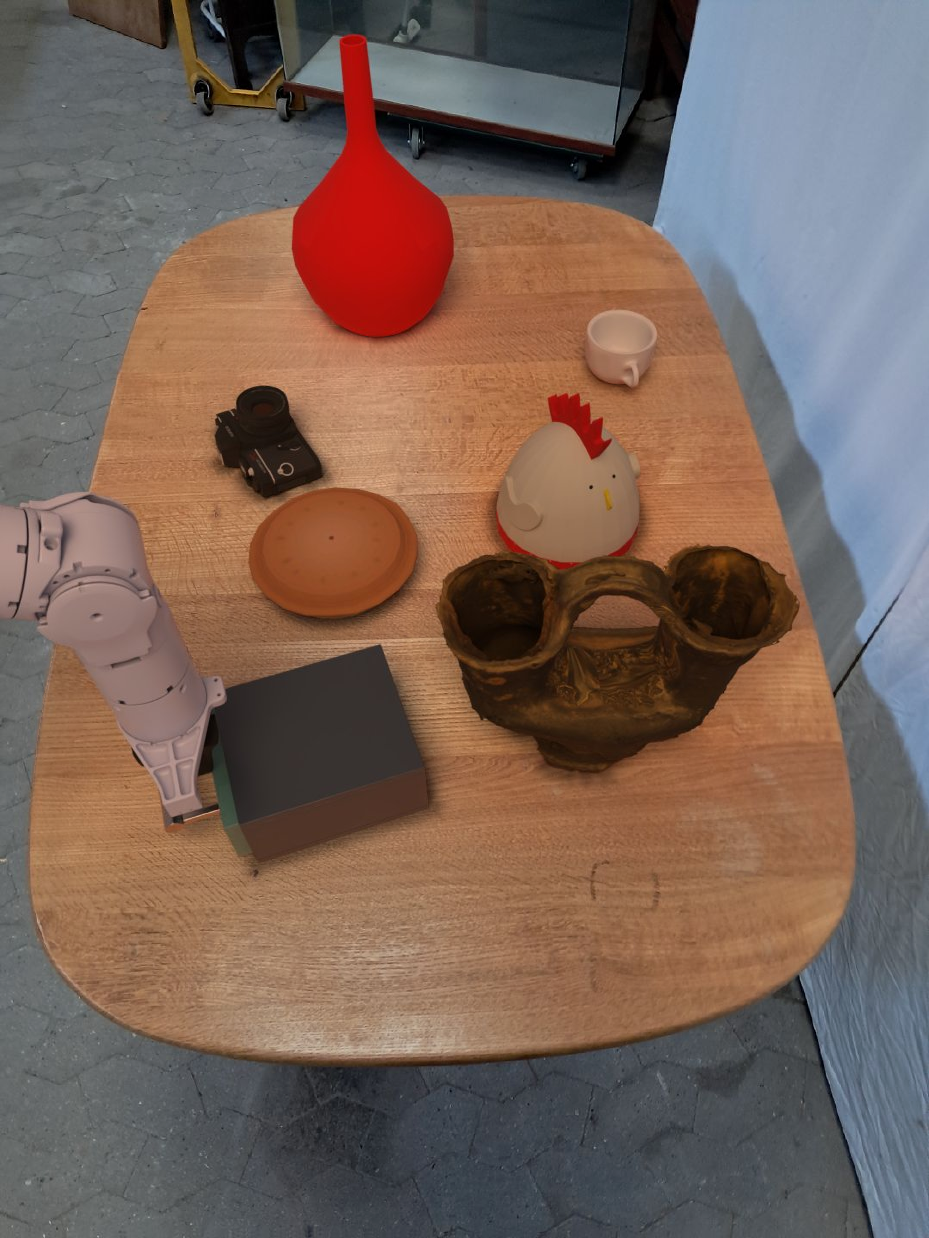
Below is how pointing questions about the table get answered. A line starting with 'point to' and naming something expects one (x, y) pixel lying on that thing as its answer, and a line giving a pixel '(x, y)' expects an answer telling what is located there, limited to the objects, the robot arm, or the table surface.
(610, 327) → the teacup
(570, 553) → the kitchen timer
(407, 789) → the dark grey storage box
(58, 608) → the robot arm
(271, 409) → the film camera
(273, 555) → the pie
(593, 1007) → the table surface
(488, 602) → the pottery vessel
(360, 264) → the vase
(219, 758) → the drawer
